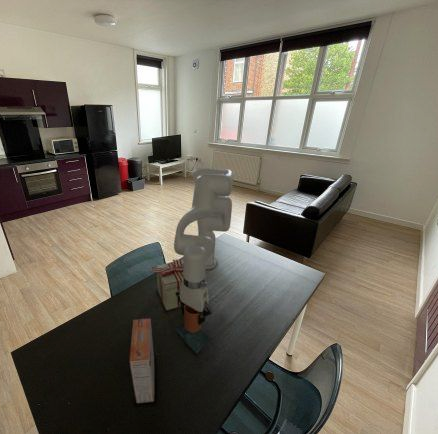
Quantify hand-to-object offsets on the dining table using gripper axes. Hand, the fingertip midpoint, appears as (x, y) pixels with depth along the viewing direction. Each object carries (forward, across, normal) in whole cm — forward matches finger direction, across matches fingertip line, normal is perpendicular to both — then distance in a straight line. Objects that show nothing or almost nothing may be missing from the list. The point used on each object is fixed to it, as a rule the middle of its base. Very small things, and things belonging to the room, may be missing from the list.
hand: (192, 317), depth 89 cm
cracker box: (+11, +3, +23) cm, 26 cm away
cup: (+4, 0, 0) cm, 4 cm away
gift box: (+11, +21, -14) cm, 27 cm away
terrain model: (+11, 0, 0) cm, 11 cm away
